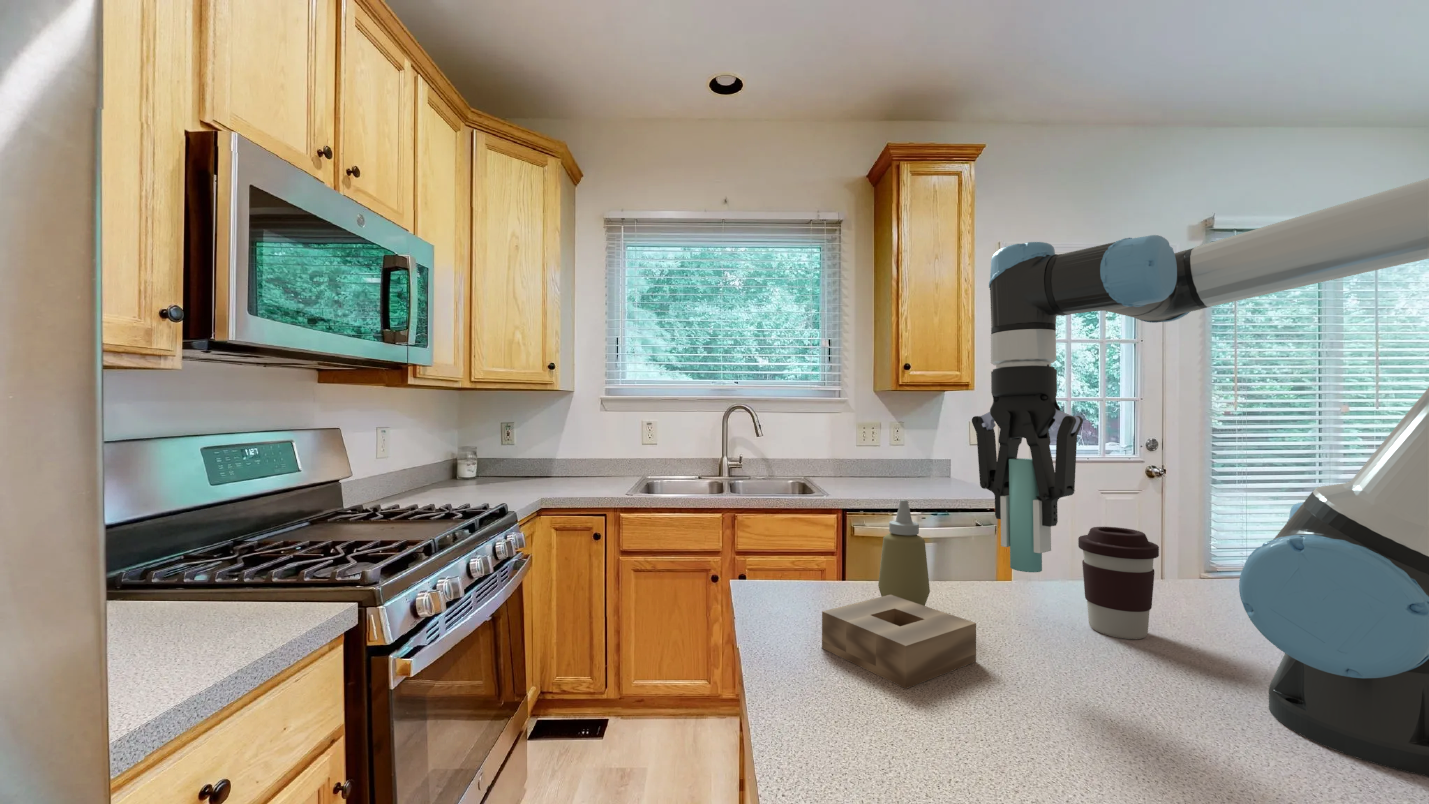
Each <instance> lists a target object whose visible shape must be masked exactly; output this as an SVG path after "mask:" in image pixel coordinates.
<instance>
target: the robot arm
mask: <svg viewBox="0 0 1429 804" xmlns="http://www.w3.org/2000/svg"><path fill="white" fill-rule="evenodd" d="M1427 259H1429V177H1428V178H1426V179H1425V178H1424V179H1421V180H1418V181H1415V182H1412V183H1408V184H1405V185H1401V186H1399V187H1393V188H1391V189H1387V190H1384V191H1381V192H1377V193H1374V194H1370V195H1367V196H1364V197H1360V198H1356V199H1354V200H1351V201H1347V202H1343V203H1340V204H1337V205H1332V206H1329V207H1327V208H1323V209H1320V210H1316V211H1313V212H1309V213H1306V214H1303V215H1299V216H1296V217H1293V218H1289V219H1285V220H1283V221H1280V222H1274V223H1272V224H1270V225H1266V226H1261V227H1259V228H1255V229H1252V230H1249V231H1245V232H1242V233H1239V234H1235V235H1231V236H1228V237H1224V238H1222V239H1218V240H1214V241H1212V242H1211V241H1210V242H1207V243H1204V244H1200V245H1198V246H1197V245H1196V246H1195V247H1192V248H1189V249H1185V250H1181V251H1177V252H1175V251H1174V249H1173V247H1172V246H1171V245H1170V243H1169V240H1167V239H1166V238H1165V237H1163V236H1162V235H1156V234H1151V235H1144V236H1138V237H1134V238H1133V237H1124V238H1122V239H1119V240H1116V241H1114V242H1109V243H1105V244H1100V245H1095V246H1091V247H1087V248H1082V249H1077V250H1074V251H1069V252H1065V253H1060V254H1056V252H1055V247H1054V246H1053V245H1052V244H1051V243H1048V242H1043V241H1028V242H1025V243H1015V244H1011V245H1007V246H1004V247H1001V248H999V249H998V250H996V251H995V252H994V253H993V255H992V257H991V259H990V260H991V261H990V274H989V275H990V277H989V282H988V288H989V294H990V296H989V297H990V322H991V323H990V326H991V327H990V363H991V365H993V366H995V368H994V369H992V371H990V373H991V374H990V376H991V378H990V379H991V380H990V381H991V383H990V384H991V385H990V387H991V389H990V391H991V396H992V399H993V400H992V404H991V407H990V409H989V412H987V413H984V414H982V415H975V416H973V417H971V423H972V426H973V429H974V430H975V433H976V443H977V444H976V445H977V446H976V447H977V461H978V474H979V486H980V487H981V488H982V489H984V490H988V491H989V492H992V493H993V495H994V516H995V518H996V519H997V520H1000V546H1001V547H1004V548H1010V509H1009V459H1014V458H1018V454H1019V447H1020V445H1021V444H1022V441H1023V438H1024V439H1026V444H1027V446H1028V447H1029V450H1030V455H1031V459H1032V461H1033V466H1034V471H1035V476H1036V481H1037V487H1038V492H1039V496H1036V497H1037V499H1036V500H1033V538H1034V552H1035V553H1042V554H1043V553H1047V552H1051V551H1052V527H1056V526H1057V525H1058V518H1059V517H1058V515H1059V514H1058V502H1059V500H1060V499H1061V498H1066V497H1068V496H1072V495H1074V494H1075V491H1076V490H1075V486H1076V467H1077V466H1076V465H1077V445H1078V444H1077V443H1078V442H1077V441H1078V435H1079V432H1080V430H1081V427H1082V425H1083V423H1084V418H1083V417H1082V416H1080V415H1072V414H1068V413H1067V412H1064V411H1061V407H1060V406H1059V404H1058V402H1057V393H1058V379H1057V378H1058V376H1057V375H1058V372H1057V370H1058V369H1056V367H1055V366H1052V364H1053V363H1055V362H1056V361H1057V331H1056V330H1057V327H1056V325H1057V317H1058V316H1061V317H1063V316H1069V315H1074V314H1082V313H1092V312H1093V313H1094V312H1100V311H1101V312H1102V311H1104V312H1109V313H1111V314H1113V313H1114V314H1117V315H1122V316H1127V317H1130V318H1134V319H1137V320H1140V321H1141V322H1146V323H1155V324H1156V323H1168V322H1174V321H1176V320H1179V319H1182V318H1184V317H1185V316H1187V315H1188V314H1190V313H1191V312H1195V311H1200V310H1204V309H1207V308H1210V307H1215V306H1220V305H1225V304H1228V303H1233V302H1238V301H1243V300H1247V299H1250V298H1255V297H1260V296H1265V295H1269V294H1274V293H1278V292H1283V291H1289V290H1292V289H1295V288H1301V287H1306V286H1311V285H1314V284H1319V283H1320V284H1321V283H1324V282H1329V281H1333V280H1337V279H1338V280H1339V279H1342V278H1347V277H1352V276H1357V275H1359V274H1365V273H1369V272H1374V271H1379V270H1383V269H1387V268H1391V267H1397V266H1401V265H1406V264H1410V263H1415V262H1419V261H1424V260H1427ZM1055 422H1056V423H1055ZM1054 423H1055V428H1056V429H1057V434H1056V443H1055V444H1056V445H1055V463H1054V461H1053V456H1052V451H1051V447H1050V445H1051V436H1050V431H1049V430H1050V429H1051V427H1052V426H1053V424H1054ZM996 425H997V426H998V428H999V429H1000V430H999V434H998V443H999V448H998V454H997V443H996V434H995V427H996ZM1289 510H1290V511H1289V517H1288V519H1287V522H1286V524H1285V525H1284V526H1283V527H1282V528H1281V530H1280V531H1279V532H1278V533H1277V534H1276V535H1275V537H1274V538H1273V539H1271V540H1269V541H1267V542H1264V543H1263V544H1262V545H1261V546H1258V547H1256V548H1255V549H1254V550H1253V551H1252V552H1251V553H1250V554H1249V555H1248V557H1247V559H1246V561H1245V562H1244V566H1243V567H1242V569H1241V572H1240V575H1239V580H1238V590H1239V591H1238V592H1239V596H1240V600H1241V603H1242V605H1243V609H1244V611H1245V613H1246V614H1247V617H1248V618H1249V620H1250V621H1251V623H1252V624H1253V626H1254V627H1255V628H1256V629H1257V630H1258V632H1259V633H1260V634H1261V635H1262V636H1263V637H1265V638H1266V640H1267V641H1269V642H1270V643H1271V644H1272V645H1273V646H1274V647H1276V648H1277V649H1278V650H1279V651H1281V652H1283V657H1282V658H1281V660H1280V663H1279V665H1278V667H1277V669H1276V671H1275V673H1274V675H1273V678H1272V679H1271V682H1270V684H1269V686H1268V687H1269V688H1268V710H1269V712H1270V713H1271V715H1272V716H1273V717H1274V718H1275V719H1276V720H1277V721H1279V722H1280V724H1283V725H1284V726H1285V727H1287V728H1288V729H1290V730H1291V731H1293V732H1295V733H1297V734H1299V735H1301V736H1303V737H1305V738H1307V739H1309V740H1311V741H1312V742H1315V743H1318V744H1319V745H1322V746H1325V747H1327V748H1329V749H1332V750H1335V751H1337V752H1340V753H1343V754H1345V755H1348V756H1350V757H1354V758H1356V759H1359V760H1363V761H1366V762H1369V763H1373V764H1376V765H1379V766H1383V767H1386V768H1387V767H1388V768H1391V769H1394V770H1398V771H1403V772H1406V773H1412V774H1417V775H1420V776H1421V775H1423V776H1429V387H1428V388H1426V390H1425V391H1424V393H1423V394H1422V395H1421V396H1420V397H1419V399H1418V400H1417V401H1416V402H1415V403H1414V404H1413V406H1412V407H1411V408H1410V409H1409V410H1408V411H1407V413H1406V414H1405V416H1403V417H1402V419H1400V421H1399V422H1398V424H1397V425H1396V426H1395V427H1394V428H1393V429H1392V431H1391V432H1390V433H1389V435H1388V436H1387V437H1386V438H1385V439H1384V440H1383V442H1381V444H1380V445H1379V447H1377V449H1376V450H1375V451H1374V453H1372V455H1371V456H1370V457H1369V458H1368V460H1367V461H1366V462H1365V464H1364V465H1363V466H1362V467H1361V468H1360V469H1359V471H1358V472H1357V473H1355V475H1354V476H1353V478H1351V480H1349V481H1347V482H1344V483H1336V484H1331V485H1329V484H1328V485H1324V486H1317V487H1316V488H1315V489H1313V490H1312V492H1311V493H1310V494H1309V495H1308V497H1307V498H1306V499H1305V501H1304V502H1298V503H1297V502H1296V503H1294V504H1293V505H1292V506H1291V508H1290V509H1289Z"/></svg>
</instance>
